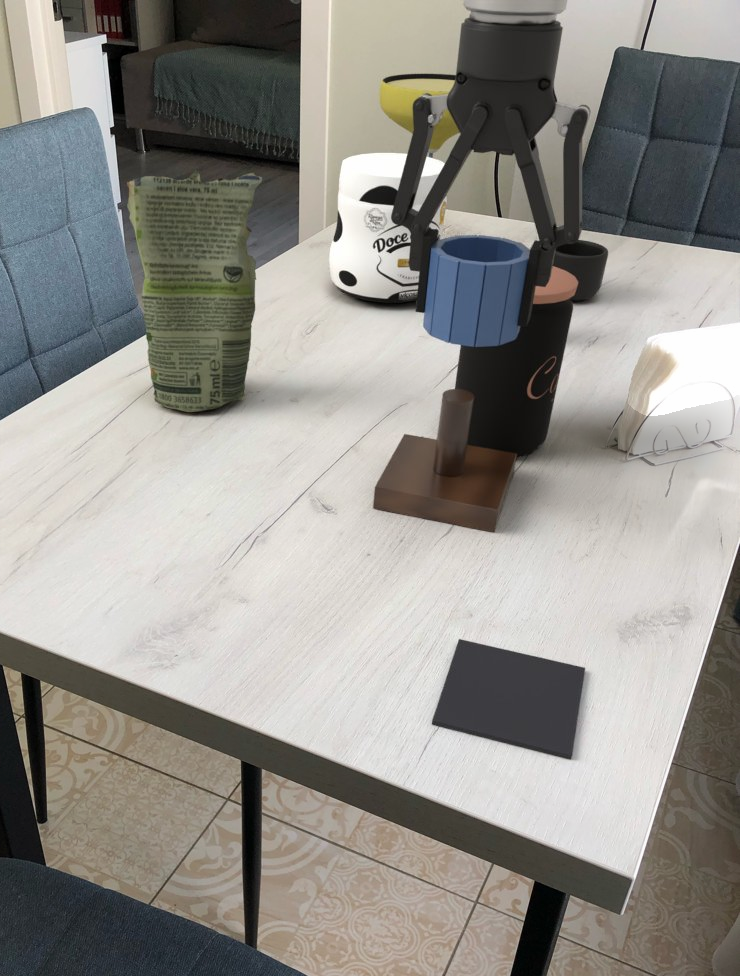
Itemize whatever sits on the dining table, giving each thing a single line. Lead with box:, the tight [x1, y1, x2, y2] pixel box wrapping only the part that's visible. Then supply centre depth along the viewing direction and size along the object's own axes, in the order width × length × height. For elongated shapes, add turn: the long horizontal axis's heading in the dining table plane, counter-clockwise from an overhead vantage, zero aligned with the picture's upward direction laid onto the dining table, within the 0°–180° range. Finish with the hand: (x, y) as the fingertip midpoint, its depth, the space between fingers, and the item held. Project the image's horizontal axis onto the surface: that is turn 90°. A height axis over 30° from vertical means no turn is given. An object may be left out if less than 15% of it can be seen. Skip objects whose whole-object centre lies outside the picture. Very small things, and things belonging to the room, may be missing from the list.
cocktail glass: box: [378, 73, 460, 159], centre depth 154 cm, size 18×18×25 cm
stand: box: [372, 388, 518, 533], centre depth 92 cm, size 12×12×10 cm
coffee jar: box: [454, 266, 578, 459], centre depth 99 cm, size 11×11×18 cm
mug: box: [553, 239, 609, 302], centre depth 141 cm, size 12×9×7 cm
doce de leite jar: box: [328, 152, 448, 304], centre depth 137 cm, size 17×17×18 cm
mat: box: [431, 638, 586, 760], centre depth 71 cm, size 10×10×1 cm
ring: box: [422, 234, 531, 347], centre depth 82 cm, size 8×8×7 cm
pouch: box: [126, 170, 263, 413], centre depth 105 cm, size 11×12×25 cm
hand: (472, 313), depth 84 cm, fingers closed on ring, 8 cm apart
